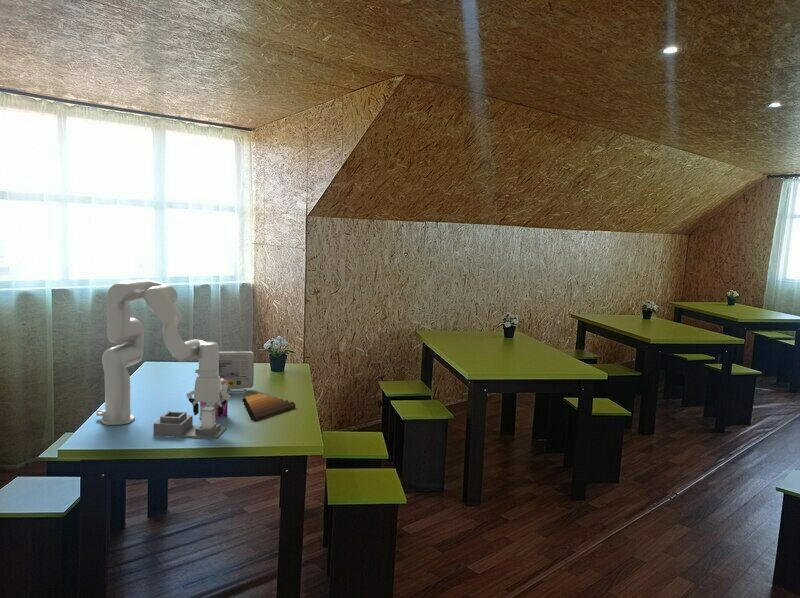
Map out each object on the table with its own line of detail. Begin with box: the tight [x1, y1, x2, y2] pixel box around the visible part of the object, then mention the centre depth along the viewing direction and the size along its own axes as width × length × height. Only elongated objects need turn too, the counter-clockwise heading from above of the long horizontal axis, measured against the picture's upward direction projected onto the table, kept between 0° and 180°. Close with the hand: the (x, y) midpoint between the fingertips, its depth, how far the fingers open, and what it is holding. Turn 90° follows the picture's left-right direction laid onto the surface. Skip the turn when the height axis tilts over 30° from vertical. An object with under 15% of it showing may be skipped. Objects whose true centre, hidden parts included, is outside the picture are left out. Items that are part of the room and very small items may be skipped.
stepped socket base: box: [152, 410, 227, 440], centre depth 236 cm, size 25×12×7 cm, turn 89°
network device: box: [218, 350, 255, 394], centre depth 295 cm, size 26×9×20 cm, turn 105°
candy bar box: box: [199, 378, 229, 421], centre depth 254 cm, size 11×5×16 cm, turn 141°
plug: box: [201, 407, 216, 429], centre depth 236 cm, size 4×4×9 cm
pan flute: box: [241, 392, 296, 422], centre depth 270 cm, size 25×3×25 cm
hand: (208, 414), depth 235 cm, fingers open, 9 cm apart
